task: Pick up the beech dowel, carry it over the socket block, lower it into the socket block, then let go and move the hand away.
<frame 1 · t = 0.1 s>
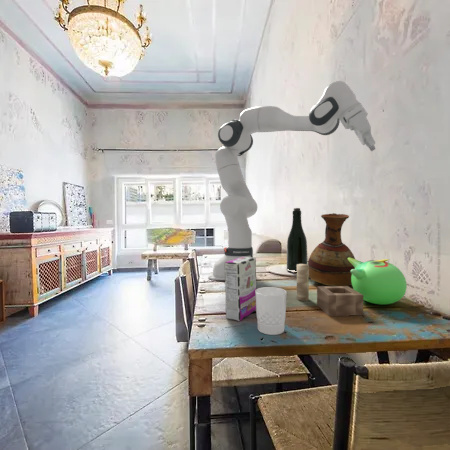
hand: (373, 147, 101), 54 cm above the table, tool tilted 30°, fingers open, 8 cm apart
beech dowel: (302, 299, 94), on the table
brown clay vase: (331, 284, 115), on the table
white cup: (270, 330, 69), on the table
beer bottle: (297, 271, 141), on the table
socket block: (338, 309, 83), on the table
green rounded body: (375, 302, 90), on the table
candy bar box: (241, 314, 81), on the table
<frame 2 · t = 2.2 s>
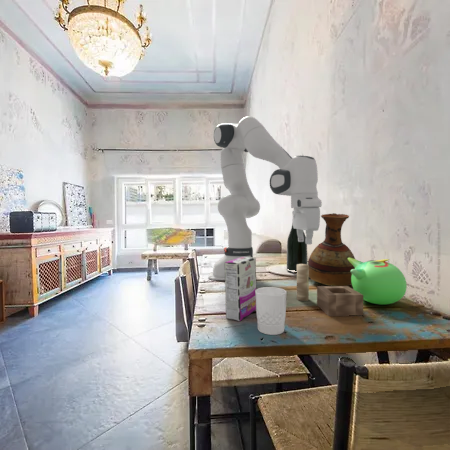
hand: (304, 242, 93), 20 cm above the table, tool pointing down, fingers open, 8 cm apart
nothing on the table moved.
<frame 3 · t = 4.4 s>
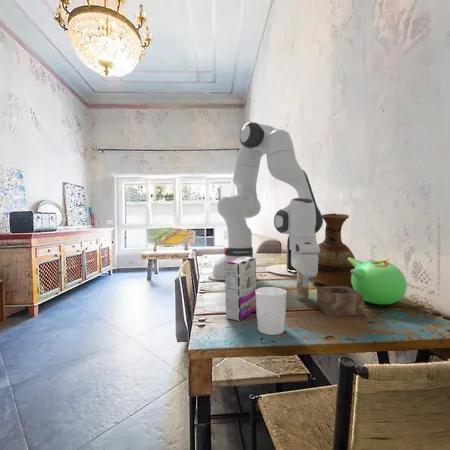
hand: (302, 284, 94), 5 cm above the table, tool pointing down, fingers closed on beech dowel, 4 cm apart
beech dowel: (302, 299, 94), on the table, touching gripper
everything else where it was.
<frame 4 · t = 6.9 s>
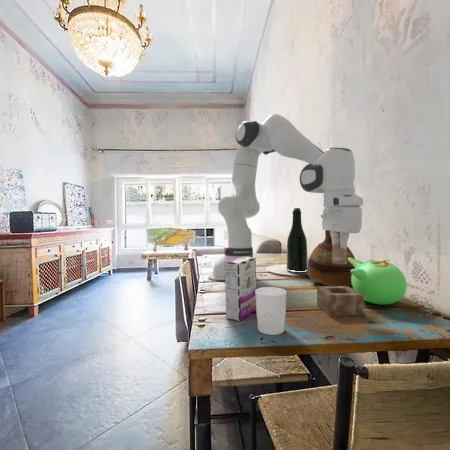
hand: (339, 246, 82), 20 cm above the table, tool pointing down, fingers closed on beech dowel, 4 cm apart
beech dowel: (339, 263, 83), point 14 cm above the table, touching gripper
everything else where it was.
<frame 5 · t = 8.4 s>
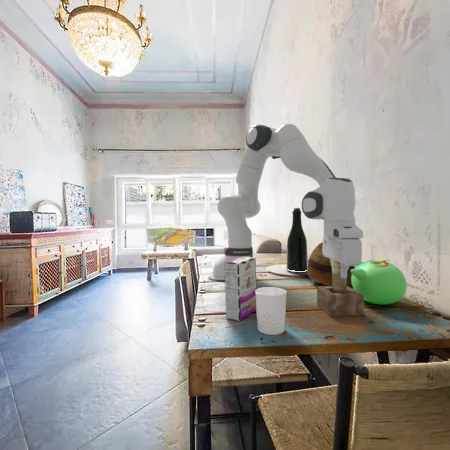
hand: (339, 275, 83), 11 cm above the table, tool pointing down, fingers closed on beech dowel, 4 cm apart
beech dowel: (339, 292, 83), point 6 cm above the table, touching gripper
everything else where it was.
when the fingers open (7 cm above the table, at t = 9.5 s): beech dowel drops 2 cm, resting in socket block.
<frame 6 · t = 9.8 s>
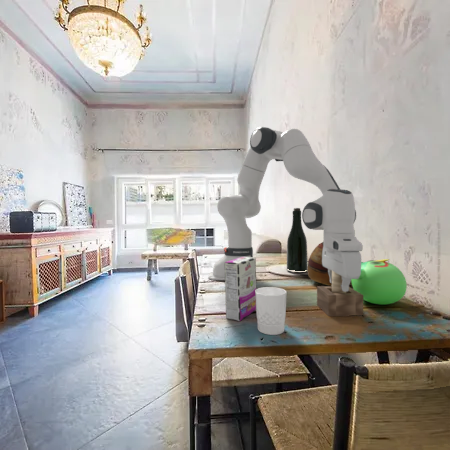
hand: (338, 287, 83), 7 cm above the table, tool pointing down, fingers open, 7 cm apart
beech dowel: (338, 309, 83), resting in socket block
everything else where it was.
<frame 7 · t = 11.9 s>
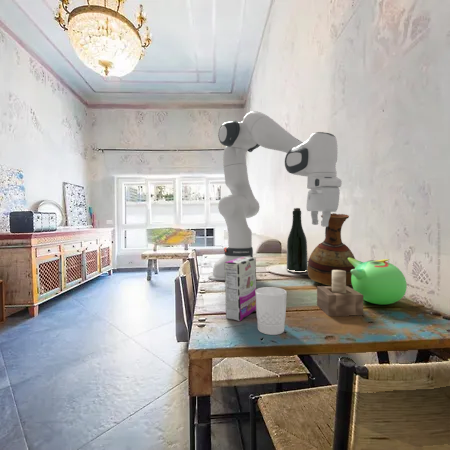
hand: (319, 225, 89), 26 cm above the table, tool pointing down, fingers open, 8 cm apart
nothing on the table moved.
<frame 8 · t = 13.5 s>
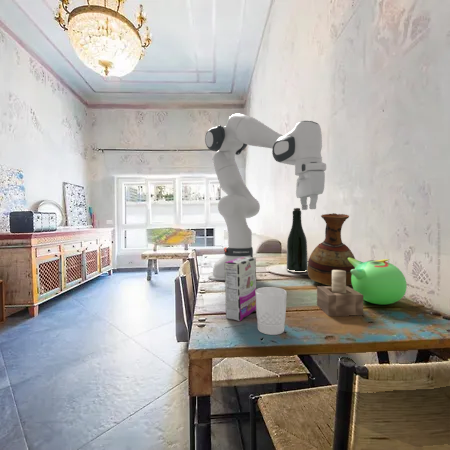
hand: (308, 209, 93), 31 cm above the table, tool pointing down, fingers open, 8 cm apart
nothing on the table moved.
at the end: beech dowel 0.0 cm off-centre on the socket block, point 0.0 cm above the socket block's base; beech dowel tilted 0°; the gripper is holding nothing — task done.
